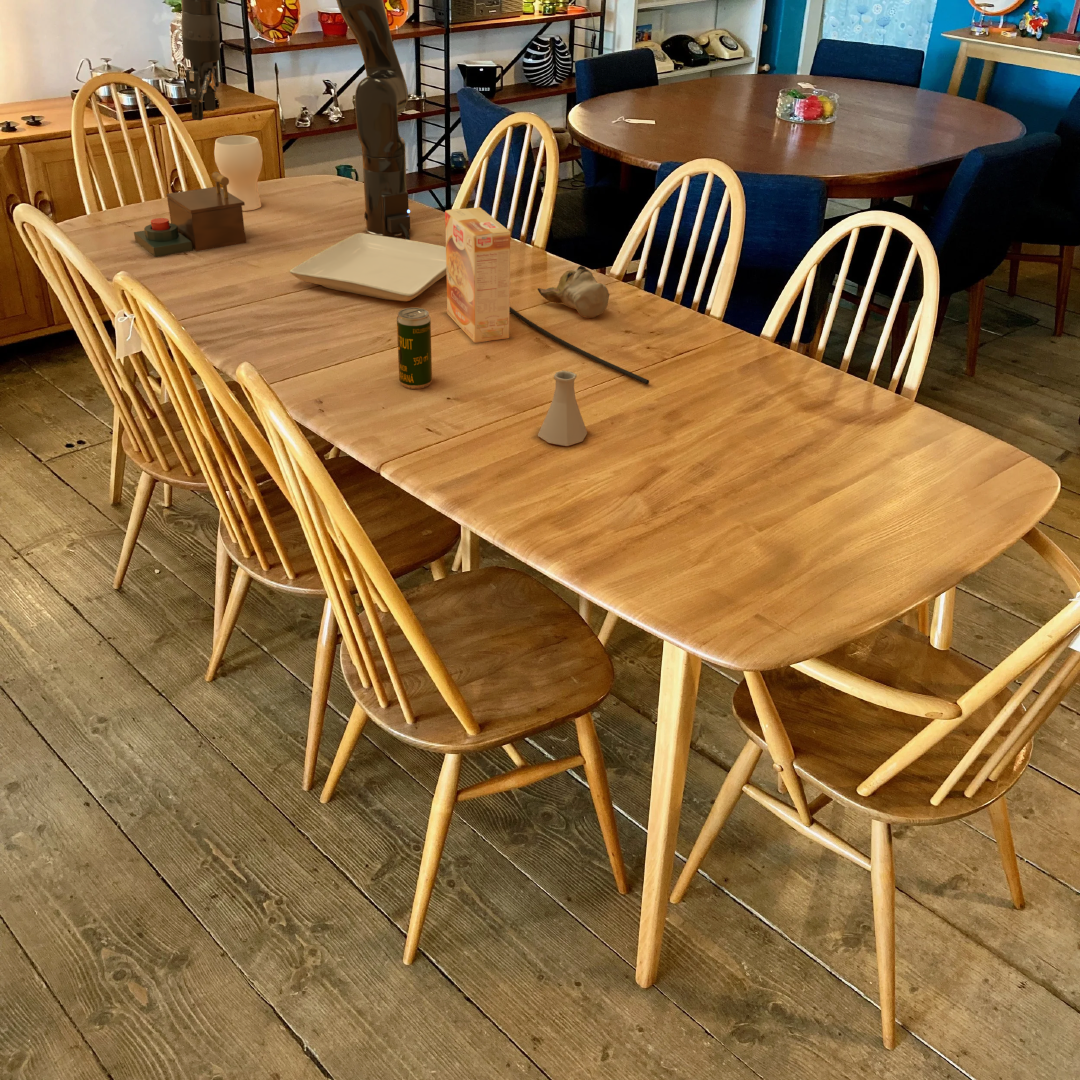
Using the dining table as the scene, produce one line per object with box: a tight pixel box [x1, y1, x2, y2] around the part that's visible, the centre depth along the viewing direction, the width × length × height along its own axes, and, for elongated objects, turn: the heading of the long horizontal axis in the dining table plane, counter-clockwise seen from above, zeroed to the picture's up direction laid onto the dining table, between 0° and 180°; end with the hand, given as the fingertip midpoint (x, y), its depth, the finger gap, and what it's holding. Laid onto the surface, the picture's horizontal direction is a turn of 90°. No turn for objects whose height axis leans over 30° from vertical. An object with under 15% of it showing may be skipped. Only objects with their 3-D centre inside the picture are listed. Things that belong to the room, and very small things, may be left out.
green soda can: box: [396, 307, 433, 390], centre depth 178 cm, size 5×5×12 cm
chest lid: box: [166, 171, 245, 214], centre depth 234 cm, size 12×14×5 cm
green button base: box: [133, 222, 194, 258], centre depth 233 cm, size 12×8×4 cm, turn 36°
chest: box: [166, 196, 247, 252], centre depth 237 cm, size 11×14×8 cm
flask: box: [537, 370, 588, 447], centre depth 164 cm, size 7×7×10 cm
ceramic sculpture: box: [537, 265, 610, 319], centre depth 209 cm, size 11×9×15 cm
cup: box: [213, 134, 264, 212], centre depth 255 cm, size 11×11×15 cm
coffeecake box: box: [444, 207, 512, 344], centre depth 197 cm, size 15×7×20 cm, turn 23°
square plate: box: [289, 232, 447, 302], centre depth 221 cm, size 27×27×4 cm
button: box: [150, 217, 170, 230], centre depth 232 cm, size 4×4×2 cm
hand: (204, 114), depth 240 cm, fingers open, 8 cm apart
